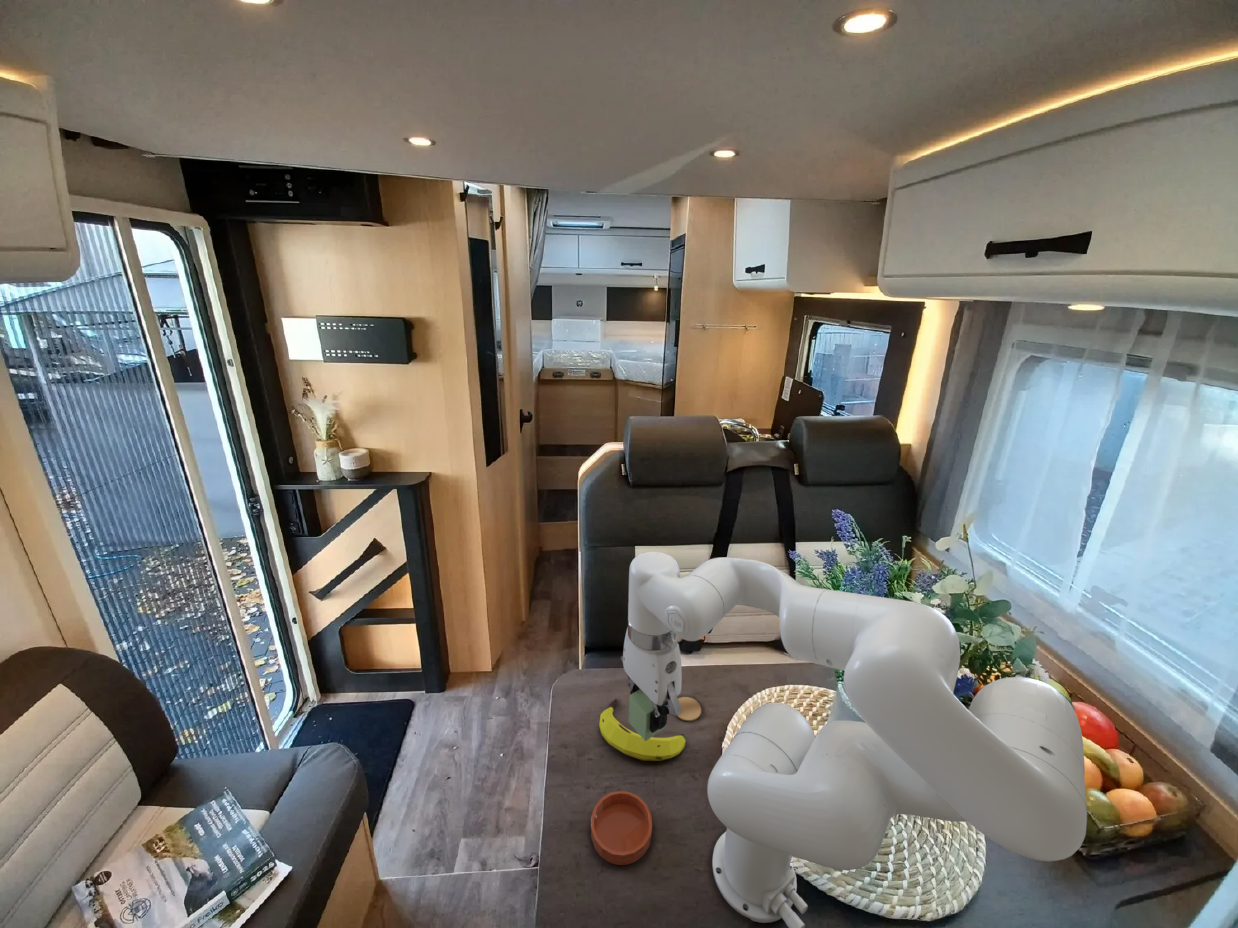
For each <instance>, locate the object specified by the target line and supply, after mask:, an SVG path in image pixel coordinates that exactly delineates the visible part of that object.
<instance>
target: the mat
mask: <svg viewBox="0 0 1238 928" xmlns="http://www.w3.org/2000/svg"><path fill="white" fill-rule="evenodd" d="M677 698H678V700H679V703H680V706H681V709H682V712H681V713H680V714H678V715H677V716H676V717H677V718H678V719H680V720H681V721H684V722H693V721H697V720H698V719H699V718H700V716H701V715H702V707H701V704H700V702H698V701H697V700H696V699H694V698H693V697H690V696H681V697H677Z"/></svg>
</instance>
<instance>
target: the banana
mask: <svg viewBox="0 0 1238 928" xmlns="http://www.w3.org/2000/svg"><path fill="white" fill-rule="evenodd" d="M617 703H618V700H617V698H616V699H614V700H612V701H611V702H610V704H609V706H608V708H606V709H604V710H603V711H602V712H601V713H600V714H599V715H600V717H599V723H598V724H599V725H598V727H599V730H600V735H601V736H602V737H603V738H604V740H605V741H606V742H607V743H608V744H609V745H610V746H611V747H613V748H614V749H616V750H617V751H619V752H621V753H622V754H623V755H626V756H629V757H631V758H634V759H637V760H640V761H647V762H648V761H650V762H661V761H666V760H669V759H672V758H673V757H676V756H678V755H679V754H680V753H681V752H682V751H683V750H684V749H685V747H686V743H687V737H686V736H685V734H684V733H681V734H679V735H674V736H669V737H656V736H653V737H651V738H650V739H648V740H647V741H644V739H643V738H642V737H641V736H640V735H639V733H638V732H634V731H632V730H631V729H628V728H627V727H625V726H624V725H623V724H622V723H620V721H618V720H617V719H616V717H615V716H614V715H613V712H615V709H616V706H617Z"/></svg>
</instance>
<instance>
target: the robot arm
mask: <svg viewBox="0 0 1238 928" xmlns="http://www.w3.org/2000/svg"><path fill="white" fill-rule="evenodd" d="M628 569H629V571H628V601H627V614H628V615H627V627H626V631H625V637H624V642H623V650H622V651H623V652H622V656H620V660H621V662H622V664H623V665H622V666H623V670H624V672H625V674H626V676H627V678H628V684H627V686H628V688H629V689H630V692H629V695H631V694H633V693H634V692H636V691H638V690H640V689H641V690H642V691H643V692H644V693H645V694H646V695H647V696H648V697H649V699H650V700H651V701H652V707H653V712H651V715H650V731H651V732H652V733H654V732H655V731H657V730H658V729H662V728H663V727H665V725H666V723H667V724H668V715H669V716H672V717H677V715H678V714H680V713H681V712H682V709H681V706H680V703H679V700H678V698H679V696H680V694H682V684H683V683H682V682H683V681H682V680H683V676H682V675H683V674H682V672H683V671H682V657H681V656H682V655H681V650H680V649H681V648H680V644H679V643H678V642H677V640H676V639H677V637H678V638H680V639H682V640H685V641H687V642H696V641H699V640H701V639H703V638H704V637H706V636H707V635H708V634H709V632H711V631H712V630H713V629H714V628H715V627H716V626H717V624H719V623H720V622H721V620H723V619H724V617H725V616H726V615H727V614H728V613H729V612H730V611H732V610H733V609H734V607H736V606H743V607H748V608H749V607H750V608H755V609H760V610H763V611H767V612H769V613H771V614H773V615H775V616H777V617H778V624H779V635H780V640H781V642H782V645H783V648H784V649H785V651H786V652H787V654H789V656H791V657H792V658H793V659H795V660H798V661H802V662H806V663H811V664H815V665H819V666H823V667H827V668H832V669H836V670H838V671H839V670H840V671H844V672H843V688H844V692H845V694H846V696H847V699H848V701H849V702H850V704H851V706H852V707H853V708H854V710H855V712H856V713H857V715H858V716H859V717H860V718H861V719H862V721H858V720H857V721H855V720H843V719H842V720H841V719H840V720H832V721H829V722H827V723H826V724H824V725H823V726H822V727H821V728H820V730H819V731H818V733H817V734H816V735H815V733H814V731H813V728H812V727H811V725H810V722H809V721H808V720H807V718H806V717H805V716H804V715H803V714H802V713H801V712H800V711H799V710H797V709H796V708H795V707H793V706H791V705H789V704H786V703H783V702H775V701H773V702H768V703H767V702H766V703H763V704H761V705H760V706H758V707H757V708H756V709H754V710H753V711H752V712H751V713H750V714H749V715H748V717H746V719H745V720H744V722H743V723H742V725H741V726H740V728H739V729H738V731H737V732H736V733H735V735H734V736H733V737H732V739H731V742H730V743H729V744H728V745H727V747H726V748H725V749H724V751H723V752H722V754H721V756H720V757H719V759H717V761H716V763H715V764H714V766H713V768H712V770H711V772H710V774H709V777H708V780H707V788H706V790H707V799H708V803H709V805H710V808H711V810H712V812H713V813H714V815H715V816H716V817H717V819H718V820H719V821H720V823H722V825H723V826H725V828H726V830H725V832H723V833H722V834H721V835H720V836H719V838H718V839H717V840H716V843H715V845H714V848H713V853H712V858H711V859H712V861H711V866H712V873H713V874H712V875H713V878H714V882H715V884H716V886H717V888H718V890H719V891H720V894H721V895H722V897H723V898H724V900H725V901H726V903H728V905H729V906H730V907H732V909H734V910H735V911H736V912H737V913H739V914H741V915H742V916H744V917H745V918H747V919H750V921H753V922H757V923H761V924H767V923H773V922H777V921H779V920H781V919H782V920H783V922H784V923H785V925H786V926H787V928H805V927H806V924H805V923H804V922H803V920H802V919H801V918H800V917H799V916H798V914H797V913H796V912H795V911H794V910H793V909H792V907H793V905H794V906H795V908H796V909H797V911H798V912H799V913H800V914H801V915H804V914H805V913H806V911H807V910H808V907H809V905H808V903H806V901H805V900H804V899H803V898H802V896H800V895H799V894H798V893H797V888H798V883H797V874H796V869H795V867H794V866H793V867H794V868H793V867H792V866H790V863H791V861H792V858H794V857H795V858H798V859H801V860H803V861H806V862H809V863H813V864H816V865H819V866H823V867H825V868H829V869H832V870H833V869H834V870H839V871H852V870H858V869H861V868H864V867H866V866H868V865H869V864H870V863H872V861H873V860H875V858H876V857H877V855H878V853H879V851H880V850H881V848H882V845H883V841H884V840H885V839H884V838H885V835H886V833H887V829H888V826H889V822H890V820H891V819H893V817H895V816H896V815H906V816H915V817H921V818H927V819H933V820H939V821H944V822H953V823H954V822H956V823H957V822H960V823H964V822H968V823H969V824H970V825H971V826H972V827H973V828H975V829H976V830H977V831H978V832H979V833H981V834H982V835H984V836H985V837H986V838H988V839H989V840H990V841H992V842H994V843H995V844H996V845H999V846H1001V847H1002V848H1004V849H1005V850H1007V851H1009V852H1012V853H1013V854H1015V855H1019V856H1020V857H1025V858H1028V859H1030V860H1034V861H1039V862H1055V861H1056V862H1057V861H1063V860H1065V859H1068V858H1070V857H1072V856H1073V855H1074V854H1076V852H1077V851H1078V850H1079V849H1080V848H1081V847H1082V845H1083V842H1084V840H1085V839H1086V835H1087V825H1088V824H1087V823H1088V809H1087V795H1086V778H1085V773H1086V771H1085V770H1086V769H1085V750H1084V749H1085V748H1084V741H1083V740H1084V739H1083V733H1082V732H1083V731H1082V727H1081V725H1080V721H1079V717H1078V715H1077V713H1076V712H1075V709H1074V707H1073V706H1072V704H1071V703H1070V702H1069V700H1068V699H1067V698H1066V697H1065V695H1064V694H1062V693H1061V692H1060V691H1059V690H1057V689H1056V688H1055V687H1053V686H1052V685H1051V684H1048V683H1047V682H1044V681H1041V680H1039V679H1035V678H1030V677H1026V676H1025V677H1024V676H1023V677H1022V676H1011V677H1002V678H999V679H996V680H994V681H990V683H988V684H986V685H984V686H983V687H982V688H981V689H980V690H979V691H978V692H977V693H976V694H975V695H974V697H973V698H972V701H971V703H970V705H969V707H968V708H967V707H966V706H965V705H964V704H963V703H962V702H961V700H959V699H958V698H957V696H956V695H955V694H954V691H955V687H956V682H957V678H958V675H959V668H960V663H961V645H960V644H961V643H960V640H959V635H958V633H957V631H956V629H955V627H954V625H953V624H952V621H950V620H949V618H948V617H947V616H946V615H945V614H943V612H941V611H939V610H938V609H937V608H934V607H932V606H929V605H927V604H923V603H920V602H917V601H916V602H915V601H910V600H904V599H897V598H889V597H883V596H877V595H870V594H862V593H855V592H848V591H842V590H841V591H839V590H836V589H835V590H834V589H829V588H823V587H821V588H820V587H814V586H808V585H803V584H800V583H799V582H798V581H796V580H795V579H794V578H793V577H792V576H790V575H789V574H788V573H786V572H784V571H782V570H781V569H779V568H778V567H775V566H774V565H772V564H769V563H767V562H765V561H764V562H763V561H760V560H756V559H747V558H738V557H726V556H725V557H713V558H710V559H708V560H706V561H704V562H703V563H701V564H699V565H698V566H697V567H696V568H694V569H693V570H692V571H690V572H689V573H688V574H687V575H685V576H683V577H681V568H680V565H679V563H678V562H677V560H676V559H675V558H674V557H673V556H672V555H670V554H667V553H666V552H661V551H652V550H651V551H646V552H642V553H639V554H638V555H636V556H635V557H634V558H633V559H632V561H631V562H630V564H629V568H628ZM863 721H864V722H863ZM666 726H667V725H666ZM794 869H795V870H794ZM718 872H719V873H718ZM745 909H746V910H745Z"/></svg>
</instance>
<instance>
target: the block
mask: <svg viewBox="0 0 1238 928" xmlns="http://www.w3.org/2000/svg"><path fill="white" fill-rule="evenodd" d="M651 712H653V707H652V701H651V700H650V699H649V697H648V696H647V695H646V694H645V693H644V692H643V691H642V690H641V689H640V690H638V691H636V692H634V693H633V694H631V695H630V694H629V696H628V724H630V725H631V727H632V728H633V729H634V730H635V731H636V733H637V734H639V735H640V736H641V737H642V738H643V739H644V741H647V740H648V739H650V738H651V737H655V736H656V735H657V734H659V733H660V732H661V731H663V730H665V729H666V728H667V724H668V722H667V723H666V725H665V727H663V728H662V729H658V730H657V731H655V732H654V733H652V732H651V731H650V715H651Z"/></svg>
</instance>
